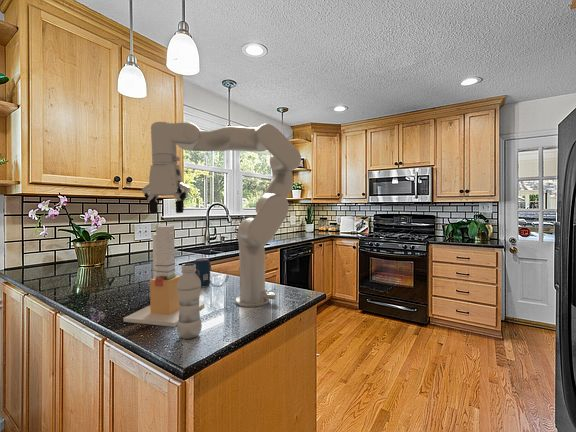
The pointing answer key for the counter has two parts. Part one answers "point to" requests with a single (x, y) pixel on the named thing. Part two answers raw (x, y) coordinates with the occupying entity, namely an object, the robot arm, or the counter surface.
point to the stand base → (160, 304)
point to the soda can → (203, 271)
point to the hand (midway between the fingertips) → (166, 213)
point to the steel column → (165, 252)
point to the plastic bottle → (189, 303)
